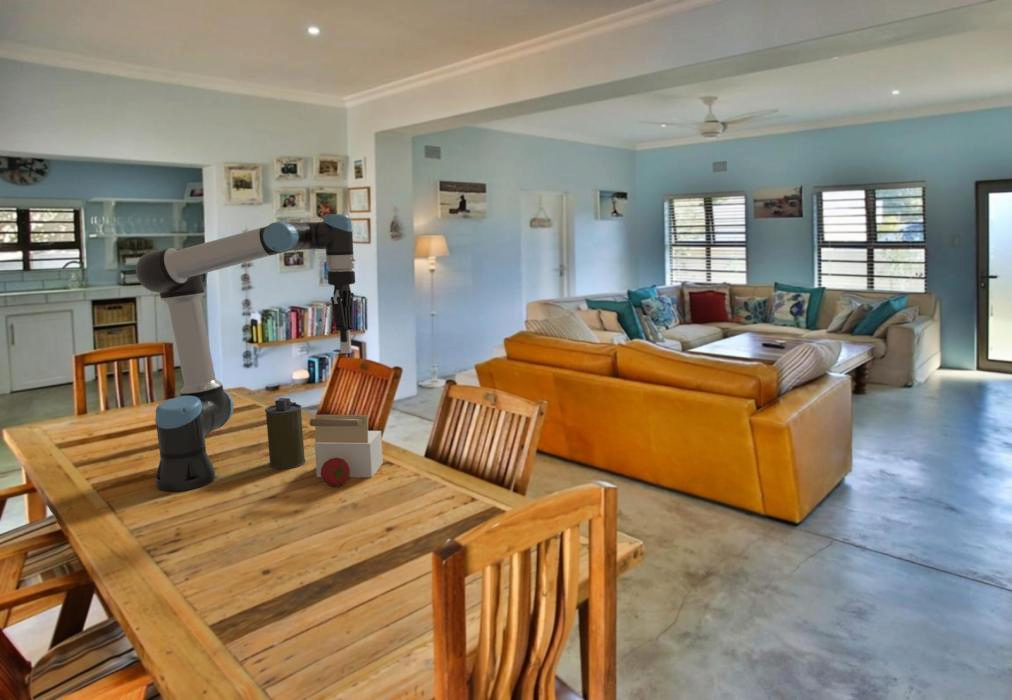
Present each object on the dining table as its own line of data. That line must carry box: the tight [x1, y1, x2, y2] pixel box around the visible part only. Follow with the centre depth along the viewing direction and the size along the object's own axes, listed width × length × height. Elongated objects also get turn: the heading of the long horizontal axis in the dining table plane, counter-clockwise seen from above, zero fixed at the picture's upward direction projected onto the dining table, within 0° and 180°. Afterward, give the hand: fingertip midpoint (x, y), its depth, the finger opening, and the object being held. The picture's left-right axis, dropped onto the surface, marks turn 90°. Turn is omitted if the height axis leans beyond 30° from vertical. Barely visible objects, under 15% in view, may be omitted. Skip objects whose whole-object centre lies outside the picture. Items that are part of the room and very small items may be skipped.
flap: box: [309, 414, 369, 444], centre depth 184 cm, size 15×8×7 cm
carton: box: [314, 430, 384, 478], centre depth 195 cm, size 16×12×10 cm
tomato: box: [321, 458, 350, 488], centre depth 183 cm, size 8×8×8 cm
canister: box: [264, 397, 306, 470], centre depth 200 cm, size 11×10×20 cm
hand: (346, 352), depth 192 cm, fingers closed
